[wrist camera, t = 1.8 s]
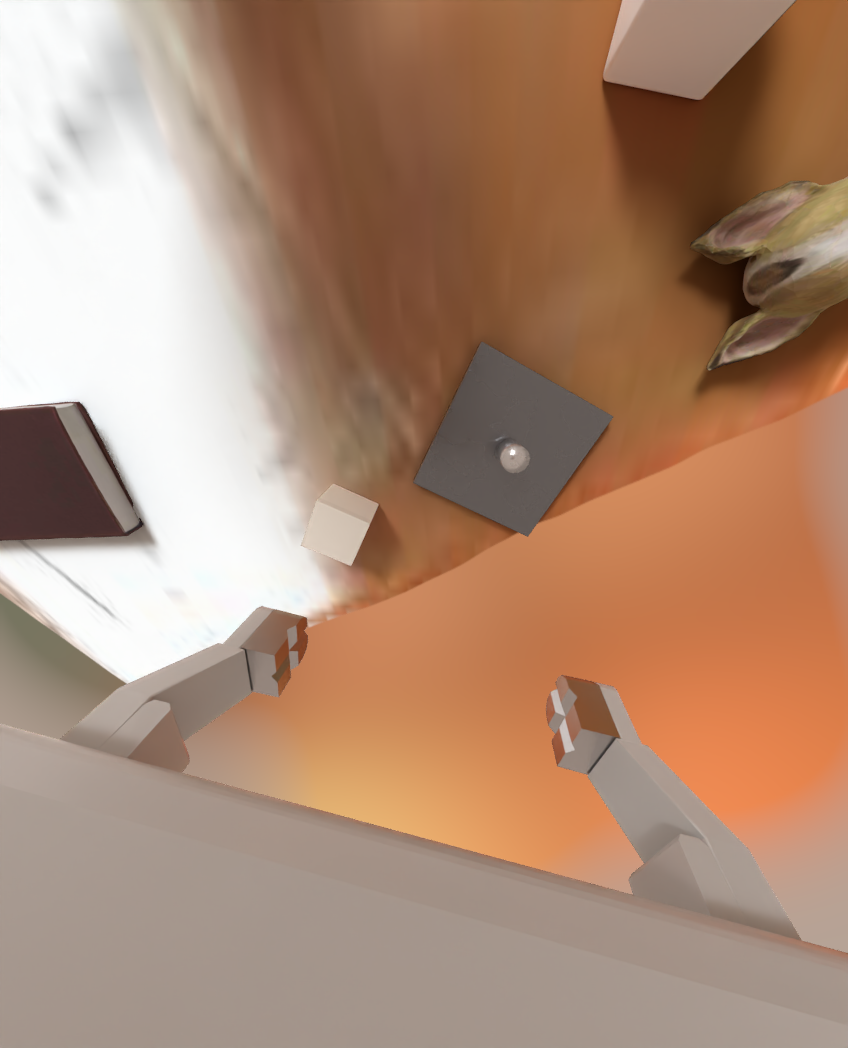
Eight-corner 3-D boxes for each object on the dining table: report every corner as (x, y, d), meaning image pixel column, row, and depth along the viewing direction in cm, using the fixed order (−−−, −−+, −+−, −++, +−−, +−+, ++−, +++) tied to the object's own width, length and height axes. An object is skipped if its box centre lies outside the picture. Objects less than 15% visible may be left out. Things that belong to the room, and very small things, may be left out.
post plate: (413, 479, 33) (410, 493, 29) (479, 342, 27) (487, 336, 23) (524, 531, 35) (536, 552, 31) (606, 415, 29) (635, 421, 25)
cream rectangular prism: (318, 523, 35) (300, 545, 31) (333, 483, 33) (316, 500, 29) (362, 542, 36) (351, 566, 32) (379, 504, 34) (370, 523, 29)
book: (149, 525, 37) (121, 540, 34) (-15, 532, 38) (-58, 546, 35) (89, 401, 31) (48, 403, 28) (-104, 413, 32) (-165, 416, 29)
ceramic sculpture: (1102, 237, 17) (771, 379, 21) (896, 280, 24) (685, 377, 29) (1184, -53, 13) (759, 191, 17) (910, 107, 21) (664, 248, 25)
